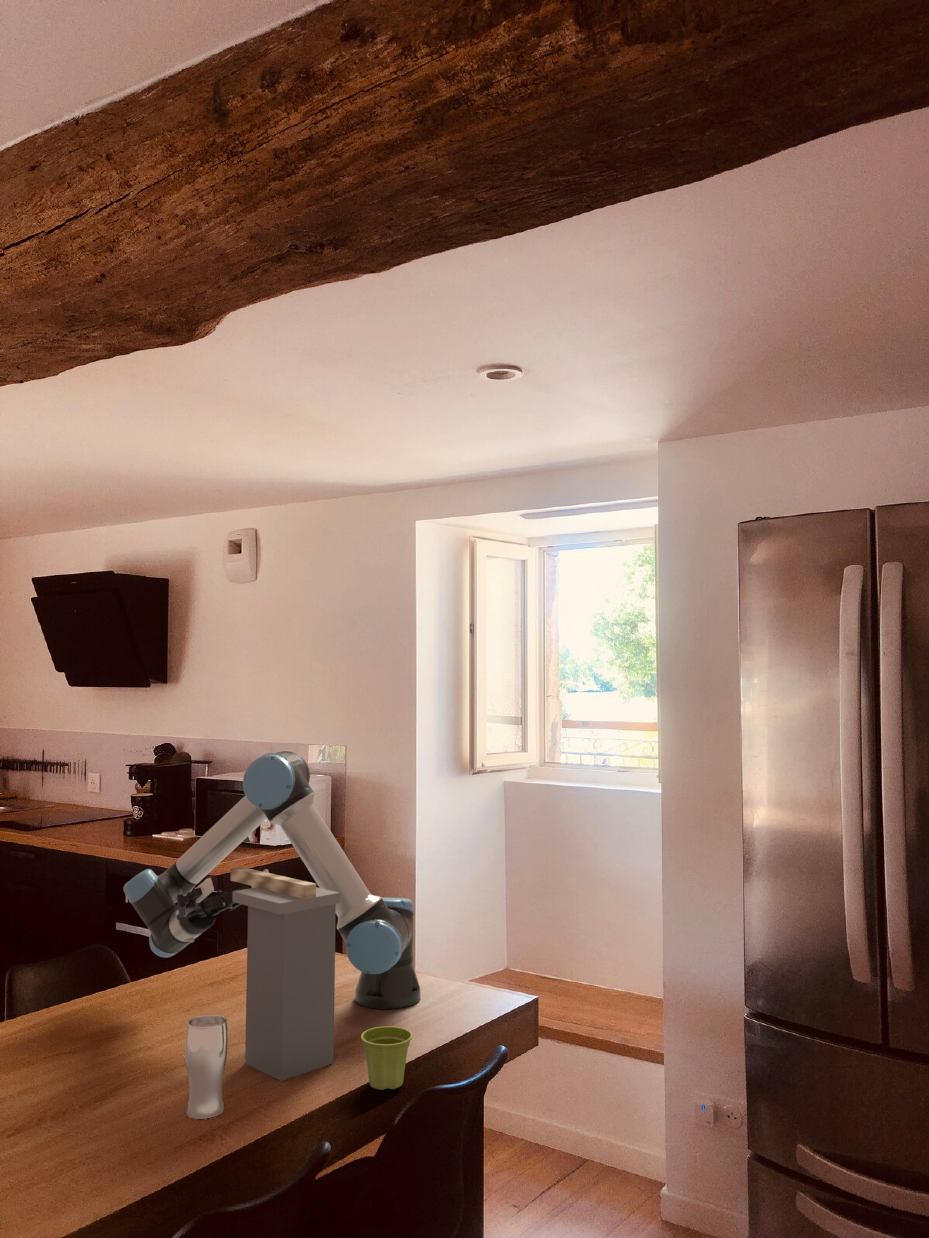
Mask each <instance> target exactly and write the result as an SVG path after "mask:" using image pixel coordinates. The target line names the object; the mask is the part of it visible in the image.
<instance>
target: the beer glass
mask: <svg viewBox="0 0 929 1238" xmlns="http://www.w3.org/2000/svg"><path fill="white" fill-rule="evenodd" d="M228 1041H229V1038H228V1018H227V1017H226V1016H224V1015H221V1014H220V1015H219V1014H205V1015H204V1014H203V1015H197V1016H194V1017H192V1018H190V1019H188V1021H187V1026H186V1037H185V1049H184V1051H185V1054H184V1055H185V1065H186V1072H187V1080H188V1086H189V1095H188V1096H189V1098H188V1103H187V1108H186V1116H187V1115H188V1116H187V1117H188V1118H190V1119H192V1118H193V1120H198V1119H204V1120H208V1119H207V1118H210V1117H213V1116H216V1115H219V1114H220V1113H221V1114H222V1113H223V1112H224V1109H225V1106H224V1101H223V1100H224V1098H223V1091H222V1090H223V1089H222V1088H223V1080H224V1075H225V1071H226V1069H225V1068H226V1063H227V1058H228V1049H229V1048H228V1046H229V1044H228V1043H229V1042H228ZM221 1114H220V1115H221ZM220 1115H219V1116H220ZM210 1119H211V1118H210Z"/></svg>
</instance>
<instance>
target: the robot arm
mask: <svg viewBox="0 0 929 1238" xmlns="http://www.w3.org/2000/svg"><path fill="white" fill-rule="evenodd" d="M310 780H311V772H310V767H309V765H308V763H307V761H306V760H305V759H304V758H303V757H302V756H301V755H299V754H298V753H296V752H293V751H286V750H285V751H278V752H273V753H266V754H263V755H261V756H258V757H257V758H256V759H254V760H253V761H252V762H250V764H249V765H248V766H247V768H246V770H245V772H244V774H243V779H242V788H243V792H244V796H243V797H242V798H241V799H240V800H239V801H238V802H237V803H236V804H235V805H234V806H232V808H231V809H230V810H229V811H227V812H226V813H225V814H224V815H223V816H222V817H221V818H220V819H219V820H218V821H217V822H216V823H215V824H214V825H213V826H212V827H210V828H209V829H208V830H207V831H206V832H205V833H204V834H203V835H202V836H201V837H200V838H199V839H198V840H197V841H196V842H195V843H194V844H193V845H192V846H190V847H189V848H188V849H187V850H186V851H185V852H183V854H181V856H180V857H179V858H178V859H177V860H176V861H174V863H173V864H171V865H170V866H168V868H167V869H166V870H165V871H163V873H161V874H159V875H157V874H156V873H155V871H153V870H152V869H151V868H150V869H149V868H146V869H144V870H142V871H141V872H139V873H138V874H137V875H134V877H132V878H131V879H130V880H128V881H127V882H126V883H125V884H124V886H123V893H124V894H125V896H126V897H127V899H128V902H129V903H130V904H131V905H132V907H133V908H134V910H135V911H136V913H137V914H138V916H139V917H140V918H141V920H142V922H143V923H144V924H145V925H146V927H147V929H148V931H149V932H150V935H149V938H148V942H149V943H148V944H149V947H150V950H151V951H152V952H153V954H155V955H156V956H158V957H160V958H171V957H172V956H175V955H176V954H178V953H179V952H181V951H182V950H183V949H185V948H186V947H187V946H188V945H189V944H191V943H194V942H195V939H197V938H199V936H201V935H202V934H203V933H204V932H206V931H207V930H208V929H210V928H211V927H212V926H213V925H214V924H215V922H216V920H217V917H218V915H220V913H221V912H223V911H226V910H228V911H229V912H231V911H233V910H235V909H237V908H238V907H240V906H242V905H243V904H239V903H235V902H232V899H233V891H238V890H244V889H250V888H256V887H255V886H251V885H247V884H244V885H243V886H241V887H239V888H236V889H234V890H231V891H229V892H224V891H223V892H221V893H219V894H216V895H211V896H209V895H210V894H212V893H213V892H214V891H215V889H214V888H215V887H214V884H213V880H212V877H207V876H208V874H209V873H210V872H212V871H213V870H214V869H215V868H216V867H217V866H218V865H219V864H220V863H221V862H223V860H224V859H226V857H227V856H229V855H230V854H231V853H232V852H233V851H234V850H235V849H236V848H237V847H239V845H241V843H243V842H244V841H245V840H246V839H247V838H248V837H249V836H250V835H252V833H254V831H255V830H257V828H259V827H260V826H261V825H262V823H264V822H265V821H266V820H268V822H269V823H270V824H273V825H277V826H280V827H281V829H282V830H283V833H284V834H285V835H286V836H287V838H288V841H289V842H290V843H291V845H292V846H293V848H294V849H295V852H296V853H297V854H298V856H299V857H300V860H301V861H302V863H304V865H305V867H306V868H307V870H308V871H309V873H310V875H311V877H312V879H313V880H314V881H315V884H316V885H317V887H318V888H321V889H326V890H330V891H335V892H339V893H340V903H338V904H336V917H337V923H336V929H337V931H338V933H339V934H340V936H341V937H342V938H343V940H344V943H345V950H346V951H345V953H346V956H347V958H348V961H349V962H350V964H351V965H352V966H353V967H354V968H355V969H357V970H358V971H360V975H359V978H358V980H357V984H356V987H355V991H354V992H355V993H354V996H355V999H354V1000H355V1002H356V1003H357V1004H358V1005H359V1006H363V1007H366V1008H369V1009H376V1010H377V1009H380V1010H386V1009H387V1010H390V1009H402V1008H406V1007H410V1006H412V1005H413V1006H414V1005H416V1004H417V1003H418V1002H419V1001H421V987H420V984H419V983H420V982H419V979H418V977H417V974H416V969H415V966H414V914H415V910H414V903H413V900H411V899H410V898H404V897H382V896H379V895H373V894H372V893H371V892H370V890H369V889H368V887H367V886H366V885H365V883H364V881H363V880H362V878H361V876H360V875H359V873H358V872H357V871H356V868H355V867H354V865H353V864H352V863H351V861H350V860H349V858H348V856H347V855H346V853H345V852H344V850H343V848H342V847H341V845H340V843H339V842H338V840H337V839H336V837H335V836H334V834H333V833H332V831H331V829H330V828H329V826H328V825H327V823H326V821H325V820H324V819H323V817H322V816H321V814H320V812H319V811H318V809H317V808H316V806H315V805H314V799H315V792H314V790H313V789H312V787H311V786H310V784H309V783H310V782H311V781H310ZM261 871H262V870H261ZM262 872H266V873H270V872H269V869H267V868H265V869H263V871H262ZM205 877H207V878H206V879H205V880H204V881H202V880H203V879H204V878H205ZM200 882H201V883H200ZM199 883H200V884H199ZM198 884H199V885H198ZM197 885H198V886H197ZM196 886H197V887H196ZM195 887H196V888H195ZM194 888H195V889H194ZM208 896H209V897H208ZM222 898H223V899H222Z"/></svg>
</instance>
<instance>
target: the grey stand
mask: <svg viewBox="0 0 929 1238" xmlns="http://www.w3.org/2000/svg"><path fill="white" fill-rule="evenodd" d="M232 891H233V899H232V902H235V903H239V904H242V905H243V906H247V940H246V941H247V943H246V944H247V945H246V948H247V950H246V954H247V955H246V992H245V993H246V994H245V995H246V1000H245V1003H246V1004H245V1046H244V1047H245V1048H244V1050H245V1052H244V1054H245V1055H244V1064H245V1065H246V1066H249V1067H251V1068H254V1069H255V1070H258V1071H259V1072H262V1073H263V1074H266V1075H268V1076H270V1077H273V1078H274V1079H276V1080H278V1081H280V1082H282V1081H283V1082H284V1081H286V1080H289V1079H292V1078H295V1077H298V1076H301V1075H303V1074H307V1073H309V1072H313V1071H316V1070H318V1068H319V1069H321V1068H325V1067H327V1065H328V1066H330V1065H329V1064H331V1065H333V1064H335V1063H334V1060H335V1057H334V1056H335V1054H334V1053H335V996H336V995H335V989H336V988H335V983H336V982H335V980H336V916H337V914H336V904H338V903H340V893H339V892H335V891H330V890H326V889H321V888H319V887H318V886H316V897H313V898H308V899H303V898H299V897H295V896H291V895H287V894H283V893H279V892H275V891H271V890H267V889H263V888H259V887H256V888H250V889H244V890H238V891H234V890H232ZM324 1066H325V1067H324Z"/></svg>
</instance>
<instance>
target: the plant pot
mask: <svg viewBox="0 0 929 1238" xmlns="http://www.w3.org/2000/svg"><path fill="white" fill-rule="evenodd" d="M360 1039H361V1041H362V1042H363V1043H362V1044H363V1048H364V1049H365V1057H366V1066H367V1074H368V1075H367V1076H368V1077H367V1078H368V1084H369V1086H370V1087H371V1088H373V1089H376V1090H380V1091H385V1090H386V1089H389V1090H395V1089H398V1088H400V1087H401V1086H402V1085H403V1083H404V1078H405V1070H406V1069H405V1068H406V1063H407V1056H408V1055H407V1054H408V1051H409V1050H408V1049H409V1047H410V1042H411V1040H412V1039H413V1032H412V1031H410V1030H409V1029H408V1028H407V1029H406V1028H404V1027H401V1026H400V1027H399V1026H394V1025H388V1026H387V1025H386V1026H383V1025H382V1026H376V1027H372V1028H367V1030H365V1031H363V1032H362V1034H361V1036H360Z"/></svg>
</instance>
